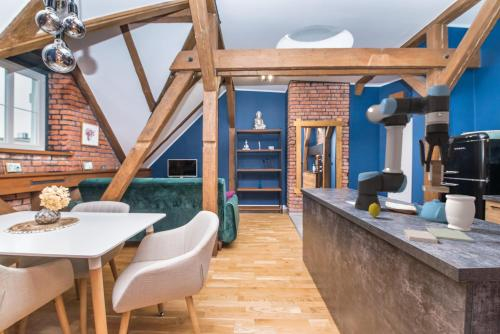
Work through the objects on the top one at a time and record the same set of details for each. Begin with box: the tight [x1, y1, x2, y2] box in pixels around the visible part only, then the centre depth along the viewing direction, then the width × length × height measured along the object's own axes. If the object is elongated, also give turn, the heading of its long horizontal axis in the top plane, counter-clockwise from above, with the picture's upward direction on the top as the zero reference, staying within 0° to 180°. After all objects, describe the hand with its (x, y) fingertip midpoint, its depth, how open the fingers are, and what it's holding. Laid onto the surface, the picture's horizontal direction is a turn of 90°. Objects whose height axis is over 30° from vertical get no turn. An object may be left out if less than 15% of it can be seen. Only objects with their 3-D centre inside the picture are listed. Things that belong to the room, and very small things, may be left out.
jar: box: [445, 194, 476, 232], centre depth 114 cm, size 11×10×15 cm
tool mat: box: [426, 227, 475, 243], centre depth 104 cm, size 14×12×1 cm
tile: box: [403, 229, 439, 245], centre depth 100 cm, size 2×9×11 cm
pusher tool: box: [421, 159, 450, 194], centre depth 104 cm, size 5×8×13 cm, turn 66°
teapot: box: [412, 198, 449, 224], centre depth 130 cm, size 15×15×11 cm
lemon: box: [368, 203, 381, 218], centre depth 134 cm, size 6×6×8 cm
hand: (435, 180), depth 104 cm, fingers closed on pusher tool, 3 cm apart
